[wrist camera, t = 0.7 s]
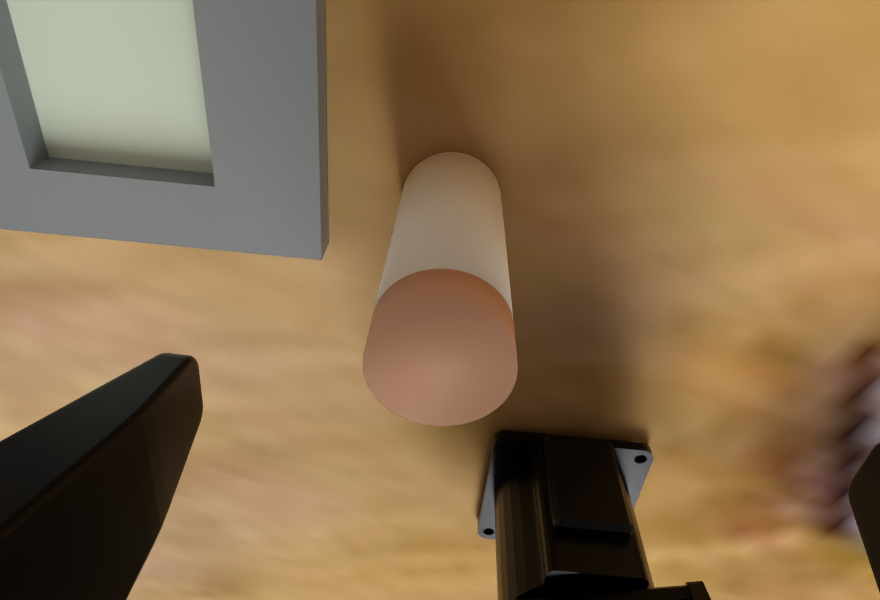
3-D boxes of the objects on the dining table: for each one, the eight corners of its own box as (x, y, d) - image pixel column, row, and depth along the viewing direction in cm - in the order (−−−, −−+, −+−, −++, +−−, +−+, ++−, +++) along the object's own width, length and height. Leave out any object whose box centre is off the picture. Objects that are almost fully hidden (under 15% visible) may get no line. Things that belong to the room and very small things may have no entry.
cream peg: (494, 248, 21) (505, 432, 14) (399, 238, 21) (360, 419, 14) (507, 156, 19) (529, 312, 12) (404, 146, 19) (364, 297, 12)
